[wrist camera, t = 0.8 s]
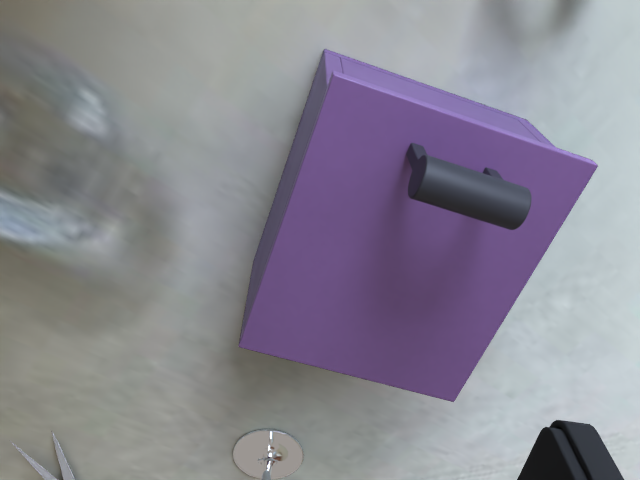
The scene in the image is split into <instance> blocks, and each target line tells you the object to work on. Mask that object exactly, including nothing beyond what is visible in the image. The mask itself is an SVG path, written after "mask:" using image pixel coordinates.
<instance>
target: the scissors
mask: <svg viewBox="0 0 640 480" xmlns="http://www.w3.org/2000/svg"><path fill="white" fill-rule="evenodd" d="M51 431H52V430H51ZM52 436H53V440H54V444H55V448H56V452H57V457H58V460H59V464H60V467H61V471H62V476H63V480H75V478H74V476H73V473H72V471H71V469H70V467H69V464H68V462H67V460H66V458H65V456H64V454H63V452H62V449H61V447H60V445H59V443H58V441H57V439H56V437H55V436H54V434H53V432H52ZM10 442H11V441H10ZM11 443H12V442H11ZM12 444H13V443H12ZM13 445H14V446H15V447H16V448H17V449H18V450H19V452H20V453H21V454H22V455H23V456H24V457H25V458H26V459H27V460H28V462H29V463H30V464H31V465H32V466H33V467H34V468H35V469H36V470H37V472H38V473H39V474H40V475H41V476H42V477H43V478H44V479H45V480H58V479H56V478H55V477H54V476H53V475H52V474H50V473H49V472H48V471H47V470H46V469H44V468H43V467H42V466H41V465H39V464H38V463H37V462H36V461H34V460H33V459H32V458H31V457H29V456H28V455H27V454H26V453H24V452H23V451H22V450H21V449H20V448H18V447H17V446H16V445H15V444H13Z"/></svg>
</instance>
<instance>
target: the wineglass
mask: <svg viewBox="0 0 640 480" xmlns="http://www.w3.org/2000/svg"><path fill="white" fill-rule="evenodd" d="M233 458H234V461H235V463H236V465H237V466H238V467H239V468H240V469H241V470H242V471H243V472H244V473H246V474H248V475H250V476H253V477H256V478H260V479H261V480H271V479H279V478H283V477H286V476H288V475H290V474H292V473H294V472H295V471H296V470H297V469H298V468H299V467H300V465H301V464H302V461H303V449H302V446H301V445H300V443H299V442H298V441H297V440H296V439H295V438H294V437H293V436H291V435H290V434H288V433H285V432H283V431H279V430H274V429H260V430H255V431H252V432H249V433H247V434H245V435H244V436H242V437H241V438H240V439H239V440H238V441H237V443H236V444H235V446H234V450H233Z"/></svg>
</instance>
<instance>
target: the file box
mask: <svg viewBox="0 0 640 480" xmlns="http://www.w3.org/2000/svg"><path fill="white" fill-rule="evenodd" d="M332 71H336V72H339V73H342V74H345V75H348V76H351V77H354V78H357V79H360V80H362V81H365V82H368V83H371V84H374V85H377V86H380V87H383V88H386V89H388V90H391V91H394V92H397V93H400V94H403V95H406V96H409V97H412V98H414V99H417V100H420V101H423V102H426V103H429V104H432V105H435V106H438V107H440V108H443V109H446V110H449V111H452V112H455V113H458V114H461V115H464V116H466V117H469V118H472V119H475V120H478V121H481V122H484V123H487V124H490V125H492V126H495V127H498V128H501V129H504V130H507V131H510V132H513V133H516V134H518V135H521V136H524V137H527V138H530V139H533V140H536V141H539V142H542V143H544V144H547V145H550V146H553V147H555V146H554V145H553V144H552V143H551V142H550V141H549V140H548V139H546V138H545V137H544V136H543V135H542V134H541V133H540V132H539V131H538V130H537V129H536V128H535V127H534V126H533V125H531V124H530V123H529V122H528V121H527V120H526V119H523V118H520V117H517V116H514V115H511V114H509V113H506V112H503V111H500V110H497V109H494V108H491V107H489V106H486V105H483V104H480V103H477V102H474V101H472V100H469V99H466V98H463V97H460V96H457V95H455V94H452V93H449V92H446V91H443V90H440V89H437V88H435V87H432V86H429V85H426V84H423V83H420V82H418V81H415V80H412V79H409V78H406V77H403V76H401V75H398V74H395V73H392V72H389V71H386V70H383V69H381V68H378V67H375V66H372V65H369V64H366V63H364V62H361V61H358V60H355V59H352V58H349V57H346V56H344V55H341V54H338V53H335V52H332V51H329V50H327V49H324V51H323V54H322V57H321V60H320V63H319V66H318V69H317V72H316V75H315V78H314V81H313V84H312V87H311V90H310V93H309V96H308V99H307V102H306V105H305V108H304V111H303V114H302V117H301V120H300V123H299V126H298V129H297V132H296V135H295V138H294V141H293V144H292V147H291V150H290V153H289V156H288V159H287V162H286V165H285V168H284V171H283V174H282V177H281V180H280V183H279V186H278V189H277V192H276V195H275V198H274V201H273V204H272V207H271V210H270V213H269V216H268V219H267V222H266V225H265V228H264V231H263V234H262V237H261V240H260V243H259V246H258V249H257V252H256V255H255V258H254V261H253V267H252V272H251V278H250V284H249V289H248V295H247V301H246V307H245V312H244V318H243V324H242V329H241V334H242V331H243V328H244V325H245V322H246V319H247V316H248V314H249V311H250V308H251V305H252V302H253V299H254V296H255V293H256V290H257V288H258V285H259V282H260V279H261V276H262V273H263V270H264V267H265V264H266V262H267V259H268V256H269V253H270V250H271V247H272V244H273V241H274V238H275V236H276V233H277V230H278V227H279V224H280V221H281V218H282V215H283V213H284V210H285V207H286V204H287V201H288V198H289V195H290V192H291V189H292V187H293V184H294V181H295V178H296V175H297V172H298V169H299V166H300V163H301V161H302V158H303V155H304V152H305V149H306V146H307V143H308V140H309V137H310V135H311V132H312V129H313V126H314V123H315V120H316V117H317V114H318V111H319V109H320V106H321V103H322V100H323V97H324V94H325V91H326V88H327V85H328V83H329V80H330V77H331V74H332ZM240 337H241V335H240Z"/></svg>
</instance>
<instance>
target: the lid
mask: <svg viewBox="0 0 640 480" xmlns="http://www.w3.org/2000/svg"><path fill="white" fill-rule="evenodd" d="M597 167H598V165H597V164H596V163H595V162H593V161H592V160H591V159H588V158H585V157H582V156H579V155H576V154H573V153H570V152H568V151H565V150H562V149H559V148H556V147H553V146H550V145H547V144H544V143H542V142H539V141H536V140H533V139H530V138H527V137H524V136H521V135H518V134H516V133H513V132H510V131H507V130H504V129H501V128H498V127H495V126H492V125H490V124H487V123H484V122H481V121H478V120H475V119H472V118H469V117H466V116H464V115H461V114H458V113H455V112H452V111H449V110H446V109H443V108H440V107H438V106H435V105H432V104H429V103H426V102H423V101H420V100H417V99H414V98H412V97H409V96H406V95H403V94H400V93H397V92H394V91H391V90H388V89H386V88H383V87H380V86H377V85H374V84H371V83H368V82H365V81H362V80H360V79H357V78H354V77H351V76H348V75H345V74H342V73H339V72H336V71H332V74H331V77H330V80H329V83H328V85H327V88H326V91H325V94H324V97H323V100H322V103H321V106H320V109H319V111H318V114H317V117H316V120H315V123H314V126H313V129H312V132H311V135H310V137H309V140H308V143H307V146H306V149H305V152H304V155H303V158H302V161H301V163H300V166H299V169H298V172H297V175H296V178H295V181H294V184H293V187H292V189H291V192H290V195H289V198H288V201H287V204H286V207H285V210H284V213H283V215H282V218H281V221H280V224H279V227H278V230H277V233H276V236H275V238H274V241H273V244H272V247H271V250H270V253H269V256H268V259H267V262H266V264H265V267H264V270H263V273H262V276H261V279H260V282H259V285H258V288H257V290H256V293H255V296H254V299H253V302H252V305H251V308H250V311H249V314H248V316H247V319H246V322H245V325H244V328H243V331H242V334H241V337H240V340H239V347H241V348H245V349H249V350H252V351H256V352H260V353H264V354H268V355H272V356H276V357H280V358H284V359H288V360H292V361H295V362H299V363H303V364H307V365H311V366H315V367H319V368H323V369H327V370H331V371H334V372H338V373H342V374H346V375H350V376H354V377H358V378H362V379H366V380H370V381H374V382H377V383H381V384H385V385H389V386H393V387H397V388H401V389H405V390H409V391H413V392H417V393H420V394H424V395H428V396H432V397H436V398H440V399H444V400H448V401H452V402H454V401H455V399H456V398H457V396H458V394H459V393H460V391H461V389H462V388H463V386H464V384H465V383H466V381H467V379H468V378H469V376H470V375H471V373H472V371H473V370H474V368H475V366H476V365H477V363H478V361H479V360H480V358H481V357H482V355H483V353H484V352H485V350H486V348H487V347H488V345H489V343H490V342H491V340H492V339H493V337H494V335H495V334H496V332H497V330H498V329H499V327H500V325H501V324H502V322H503V321H504V319H505V317H506V316H507V314H508V312H509V311H510V309H511V307H512V306H513V304H514V303H515V301H516V299H517V298H518V296H519V294H520V293H521V291H522V289H523V288H524V286H525V285H526V283H527V281H528V280H529V278H530V276H531V275H532V273H533V271H534V270H535V268H536V267H537V265H538V263H539V262H540V260H541V258H542V257H543V255H544V253H545V252H546V250H547V249H548V247H549V245H550V244H551V242H552V240H553V239H554V237H555V235H556V234H557V232H558V231H559V229H560V227H561V226H562V224H563V222H564V221H565V219H566V217H567V216H568V214H569V212H570V211H571V209H572V208H573V206H574V204H575V203H576V201H577V199H578V198H579V196H580V194H581V193H582V191H583V190H584V188H585V186H586V185H587V183H588V181H589V180H590V178H591V176H592V175H593V173H594V172H595V170H596V168H597Z"/></svg>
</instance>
